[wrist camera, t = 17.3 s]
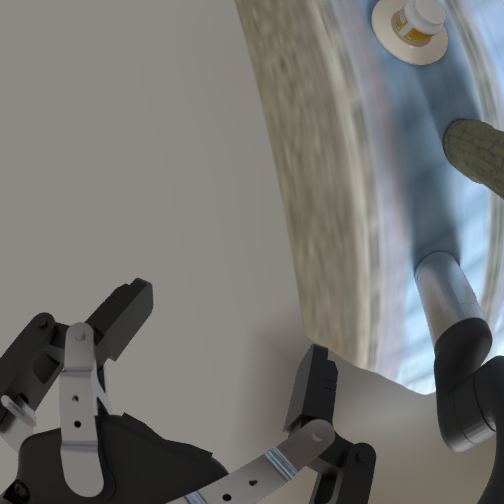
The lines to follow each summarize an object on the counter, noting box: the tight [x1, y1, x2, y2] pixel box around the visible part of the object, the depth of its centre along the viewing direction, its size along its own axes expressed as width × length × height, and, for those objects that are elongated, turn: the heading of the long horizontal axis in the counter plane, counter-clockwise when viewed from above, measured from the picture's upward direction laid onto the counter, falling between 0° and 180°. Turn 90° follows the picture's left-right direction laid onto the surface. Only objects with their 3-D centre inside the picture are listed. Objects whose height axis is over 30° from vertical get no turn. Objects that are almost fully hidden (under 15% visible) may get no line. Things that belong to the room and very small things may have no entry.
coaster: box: [371, 0, 448, 65], centre depth 23 cm, size 12×12×2 cm
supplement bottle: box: [394, 0, 446, 43], centre depth 19 cm, size 5×5×10 cm
